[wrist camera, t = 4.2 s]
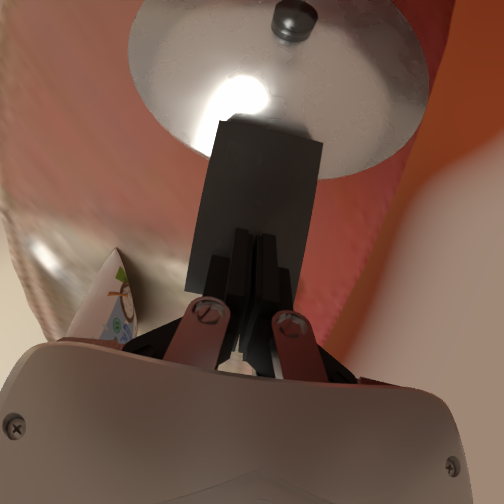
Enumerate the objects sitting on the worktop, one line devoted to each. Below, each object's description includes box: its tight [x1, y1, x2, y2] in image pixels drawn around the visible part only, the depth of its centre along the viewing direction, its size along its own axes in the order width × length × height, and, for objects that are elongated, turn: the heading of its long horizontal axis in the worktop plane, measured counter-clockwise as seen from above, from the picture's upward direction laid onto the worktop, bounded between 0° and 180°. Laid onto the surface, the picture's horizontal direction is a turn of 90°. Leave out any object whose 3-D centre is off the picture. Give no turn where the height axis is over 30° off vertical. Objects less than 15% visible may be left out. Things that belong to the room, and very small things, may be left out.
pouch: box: [66, 248, 138, 344], centre depth 43 cm, size 8×19×20 cm, turn 170°
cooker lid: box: [128, 0, 429, 304], centre depth 14 cm, size 26×19×3 cm
